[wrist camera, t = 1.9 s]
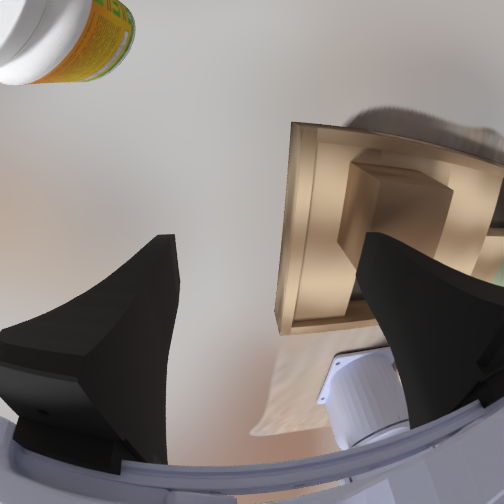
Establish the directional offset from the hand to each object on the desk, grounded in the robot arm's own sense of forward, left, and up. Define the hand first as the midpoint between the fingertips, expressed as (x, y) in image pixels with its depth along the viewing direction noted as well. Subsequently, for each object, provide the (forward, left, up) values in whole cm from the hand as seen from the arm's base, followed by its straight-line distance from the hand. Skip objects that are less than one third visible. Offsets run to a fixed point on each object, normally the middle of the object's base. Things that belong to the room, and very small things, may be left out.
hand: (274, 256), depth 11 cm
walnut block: (0, -8, -6) cm, 9 cm away
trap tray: (-3, -16, -8) cm, 18 cm away
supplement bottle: (+10, +9, -8) cm, 16 cm away
